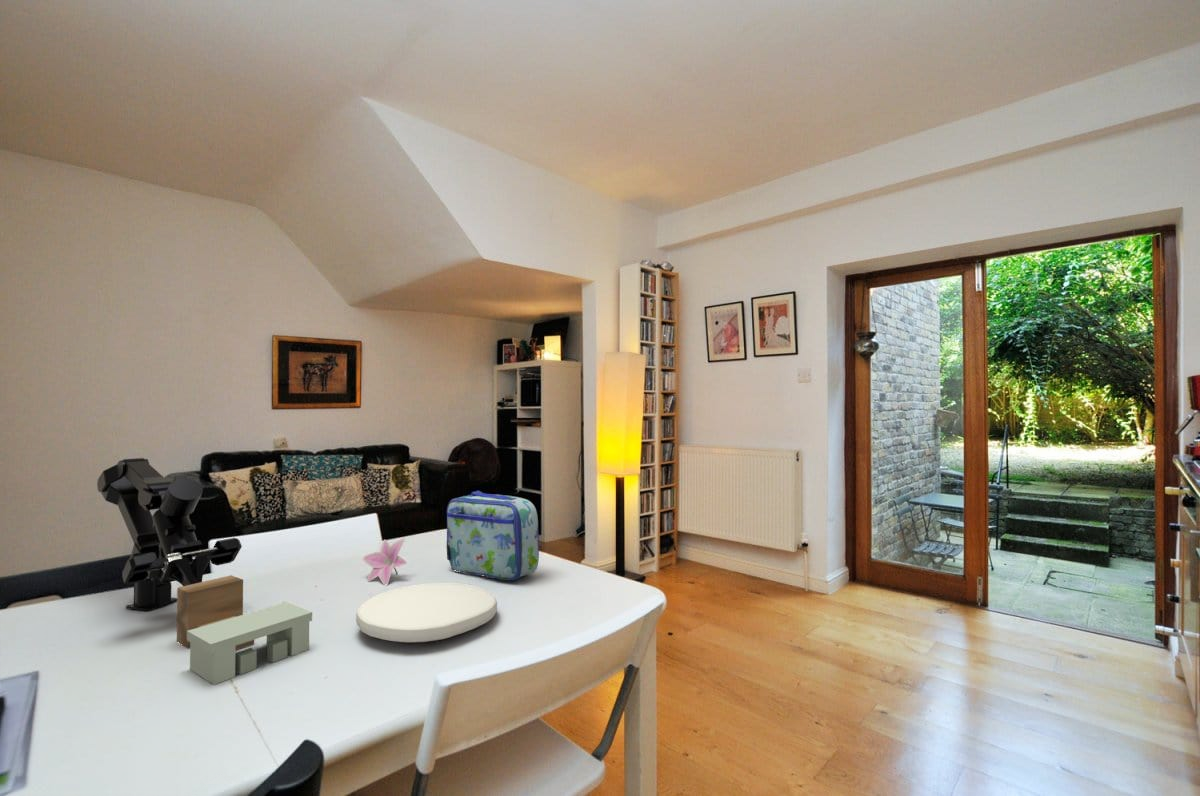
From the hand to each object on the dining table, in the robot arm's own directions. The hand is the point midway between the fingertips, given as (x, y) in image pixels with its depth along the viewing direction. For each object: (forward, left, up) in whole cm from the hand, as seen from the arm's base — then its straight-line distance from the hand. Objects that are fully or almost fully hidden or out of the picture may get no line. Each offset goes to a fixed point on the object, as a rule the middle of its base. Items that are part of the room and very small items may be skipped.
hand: (197, 594), depth 107 cm
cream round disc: (+42, +14, -7) cm, 45 cm away
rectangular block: (+9, -3, -7) cm, 12 cm away
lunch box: (+40, +47, -7) cm, 62 cm away
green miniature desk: (+21, -8, -7) cm, 23 cm away
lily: (+17, +36, -7) cm, 41 cm away
